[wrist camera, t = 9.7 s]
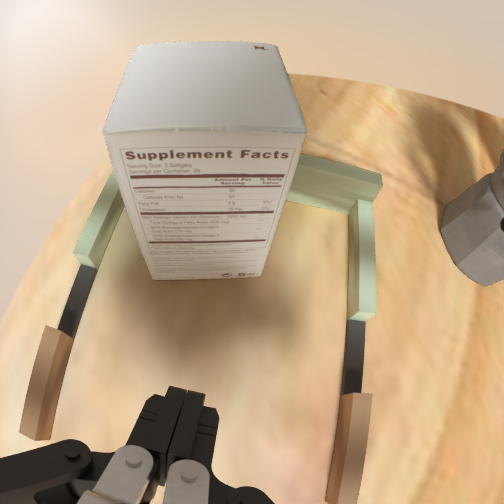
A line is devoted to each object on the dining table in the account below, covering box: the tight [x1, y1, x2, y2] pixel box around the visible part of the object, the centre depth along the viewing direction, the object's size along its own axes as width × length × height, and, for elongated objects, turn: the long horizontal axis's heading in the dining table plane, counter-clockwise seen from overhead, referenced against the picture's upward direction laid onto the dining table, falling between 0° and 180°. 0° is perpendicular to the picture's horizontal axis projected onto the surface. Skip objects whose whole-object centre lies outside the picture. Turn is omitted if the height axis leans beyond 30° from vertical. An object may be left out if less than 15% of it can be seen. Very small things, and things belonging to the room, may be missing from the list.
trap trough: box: [19, 153, 383, 504], centre depth 18 cm, size 22×19×4 cm
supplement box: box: [103, 41, 307, 280], centre depth 17 cm, size 7×7×13 cm
